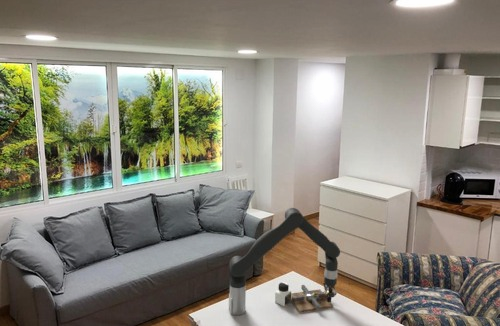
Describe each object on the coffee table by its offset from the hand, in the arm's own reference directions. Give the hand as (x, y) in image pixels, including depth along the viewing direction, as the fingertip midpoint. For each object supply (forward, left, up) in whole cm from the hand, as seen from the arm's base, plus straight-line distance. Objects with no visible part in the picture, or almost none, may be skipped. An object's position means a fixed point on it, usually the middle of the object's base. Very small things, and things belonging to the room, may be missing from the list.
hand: (328, 301), depth 231 cm
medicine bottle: (-25, +10, -3) cm, 28 cm away
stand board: (-9, +6, -3) cm, 12 cm away
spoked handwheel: (-9, +6, -1) cm, 11 cm away
